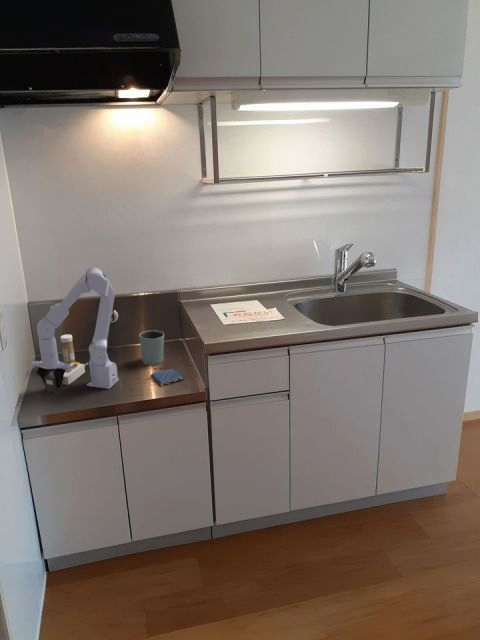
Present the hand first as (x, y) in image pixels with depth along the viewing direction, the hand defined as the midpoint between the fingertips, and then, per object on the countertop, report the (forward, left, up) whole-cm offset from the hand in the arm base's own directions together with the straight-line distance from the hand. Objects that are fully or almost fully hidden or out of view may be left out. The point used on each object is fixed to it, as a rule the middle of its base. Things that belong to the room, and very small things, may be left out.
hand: (53, 386), depth 191 cm
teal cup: (-25, -34, -2) cm, 42 cm away
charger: (0, 0, -2) cm, 2 cm away
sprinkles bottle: (+6, -20, -2) cm, 21 cm away
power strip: (0, -14, -2) cm, 14 cm away
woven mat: (-37, -20, -2) cm, 42 cm away
